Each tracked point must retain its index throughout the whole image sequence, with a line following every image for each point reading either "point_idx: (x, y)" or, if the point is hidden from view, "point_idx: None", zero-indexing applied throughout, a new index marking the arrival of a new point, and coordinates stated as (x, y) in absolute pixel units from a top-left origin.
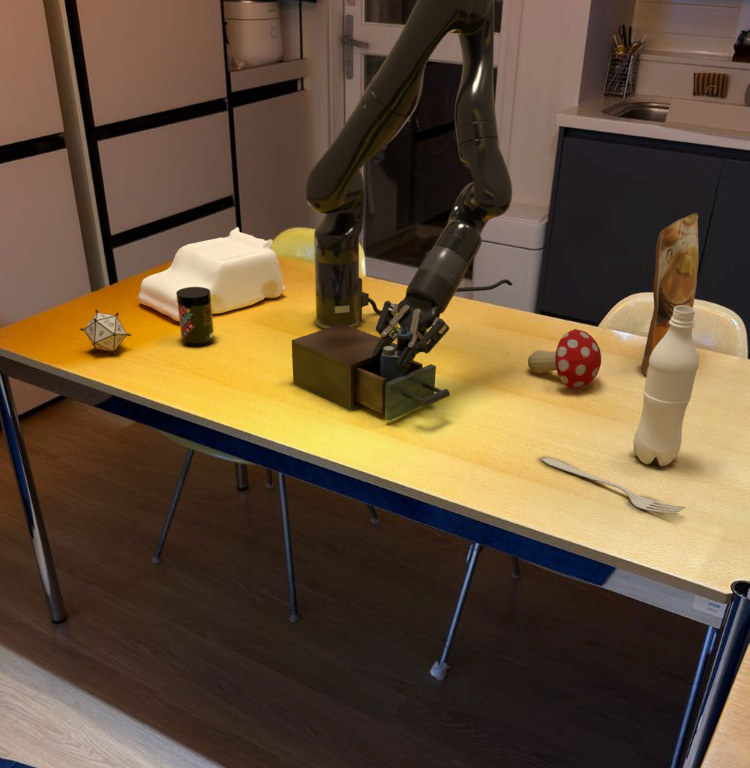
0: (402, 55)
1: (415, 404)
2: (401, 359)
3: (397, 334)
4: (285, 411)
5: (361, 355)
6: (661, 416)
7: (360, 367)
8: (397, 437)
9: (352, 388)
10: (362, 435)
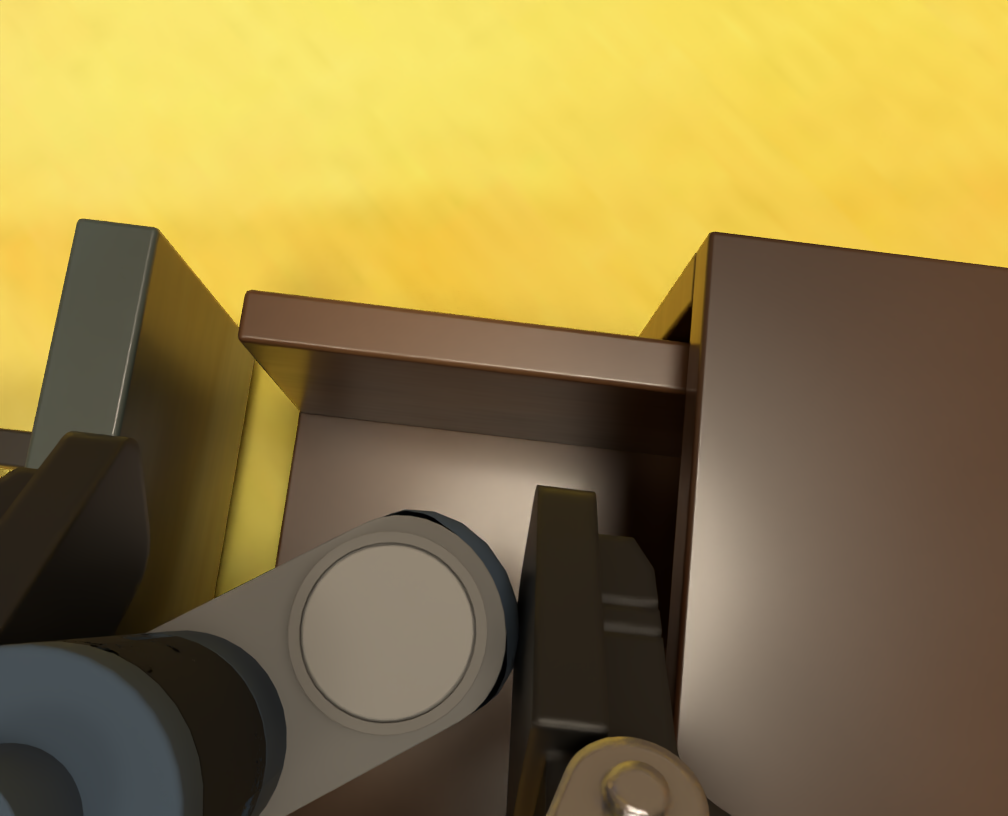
0: None
1: None
2: (32, 486)
3: (134, 684)
4: (950, 74)
5: (817, 551)
6: None
7: None
8: (63, 250)
9: None
10: (288, 124)
